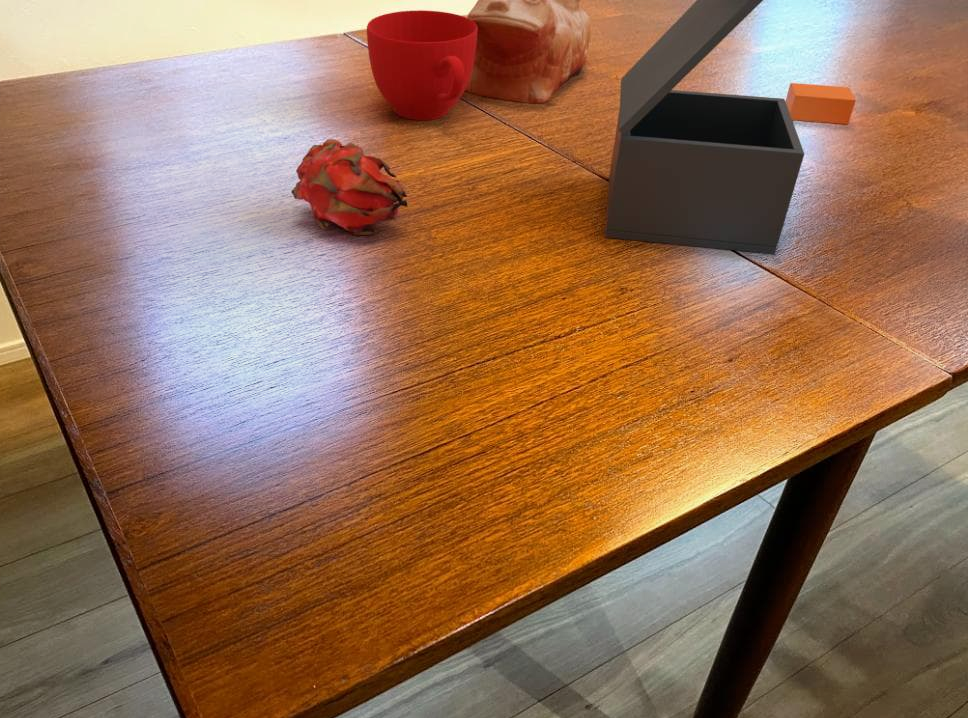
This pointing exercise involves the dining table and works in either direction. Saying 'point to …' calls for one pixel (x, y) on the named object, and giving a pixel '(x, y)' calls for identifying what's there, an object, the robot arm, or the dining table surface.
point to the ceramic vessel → (527, 47)
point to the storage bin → (705, 173)
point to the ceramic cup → (421, 60)
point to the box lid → (677, 55)
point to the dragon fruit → (347, 187)
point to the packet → (820, 103)
